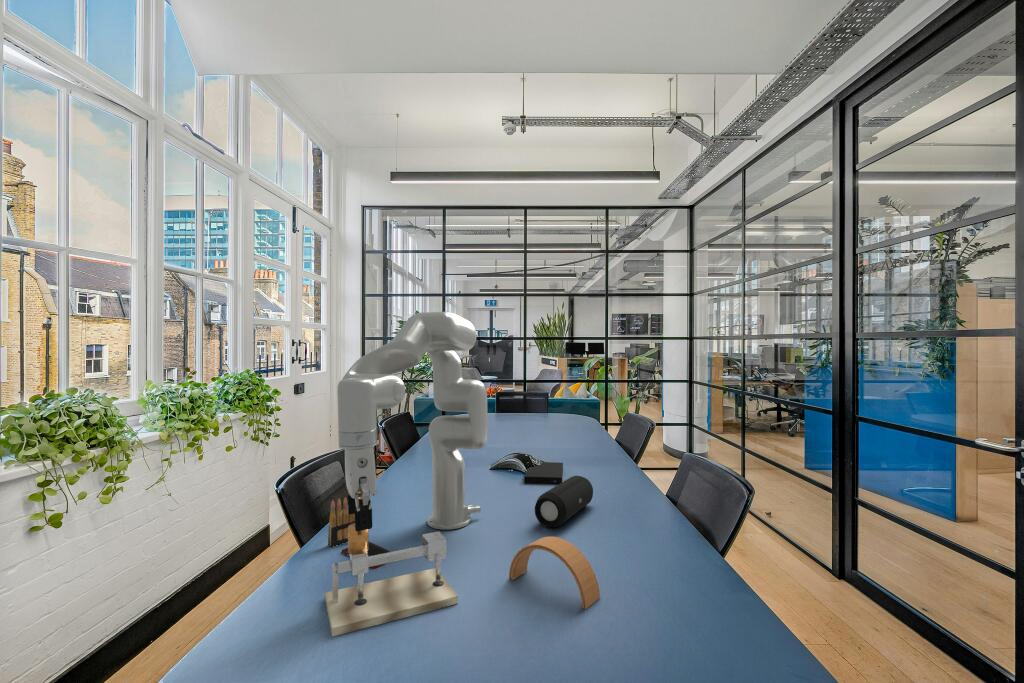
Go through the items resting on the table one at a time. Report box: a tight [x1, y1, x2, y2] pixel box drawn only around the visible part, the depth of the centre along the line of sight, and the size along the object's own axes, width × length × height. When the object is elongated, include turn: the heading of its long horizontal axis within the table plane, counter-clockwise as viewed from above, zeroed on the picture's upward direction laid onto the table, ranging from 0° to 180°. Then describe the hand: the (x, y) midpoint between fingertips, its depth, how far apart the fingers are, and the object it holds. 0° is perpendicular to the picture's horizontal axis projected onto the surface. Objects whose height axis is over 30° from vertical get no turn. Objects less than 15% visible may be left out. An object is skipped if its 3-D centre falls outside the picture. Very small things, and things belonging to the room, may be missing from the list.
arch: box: [508, 536, 601, 610], centre depth 103 cm, size 6×20×10 cm, turn 50°
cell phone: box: [341, 541, 391, 570], centre depth 119 cm, size 8×15×1 cm, turn 49°
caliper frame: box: [331, 531, 447, 603], centre depth 100 cm, size 23×6×9 cm, turn 116°
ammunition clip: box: [327, 496, 355, 548], centre depth 129 cm, size 11×2×12 cm, turn 135°
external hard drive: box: [523, 461, 564, 485], centre depth 191 cm, size 14×23×3 cm, turn 173°
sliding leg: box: [347, 523, 370, 600], centre depth 97 cm, size 4×5×14 cm
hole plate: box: [324, 567, 459, 637], centre depth 98 cm, size 24×14×2 cm, turn 116°
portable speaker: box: [534, 475, 594, 528], centre depth 146 cm, size 26×10×10 cm, turn 149°
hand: (359, 520), depth 98 cm, fingers open, 9 cm apart
